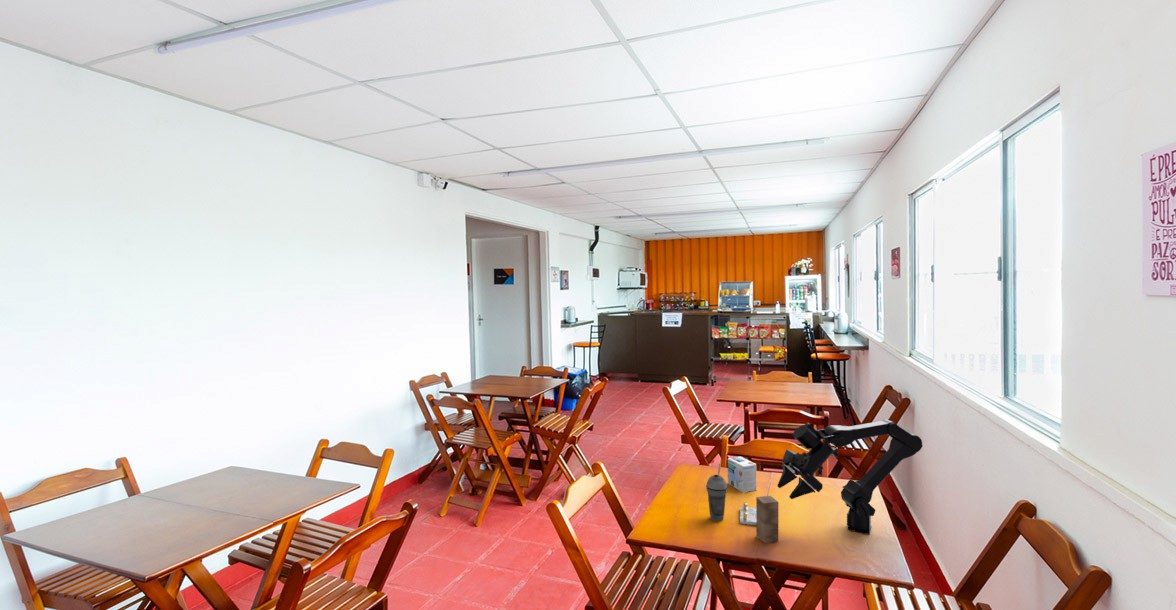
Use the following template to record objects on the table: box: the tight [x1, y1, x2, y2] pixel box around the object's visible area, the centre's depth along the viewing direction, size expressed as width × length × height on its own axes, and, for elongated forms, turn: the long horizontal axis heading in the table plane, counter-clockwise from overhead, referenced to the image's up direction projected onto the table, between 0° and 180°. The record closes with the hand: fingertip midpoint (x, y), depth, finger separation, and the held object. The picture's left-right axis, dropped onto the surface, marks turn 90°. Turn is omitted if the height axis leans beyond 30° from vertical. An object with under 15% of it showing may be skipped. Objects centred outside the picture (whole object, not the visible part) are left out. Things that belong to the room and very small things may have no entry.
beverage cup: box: [706, 463, 728, 522], centre depth 188 cm, size 7×7×20 cm
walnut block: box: [755, 495, 779, 544], centre depth 173 cm, size 5×5×13 cm
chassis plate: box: [739, 502, 757, 526], centre depth 188 cm, size 12×12×3 cm
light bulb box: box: [727, 456, 757, 493], centre depth 216 cm, size 11×7×11 cm, turn 21°
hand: (784, 492), depth 177 cm, fingers open, 9 cm apart
